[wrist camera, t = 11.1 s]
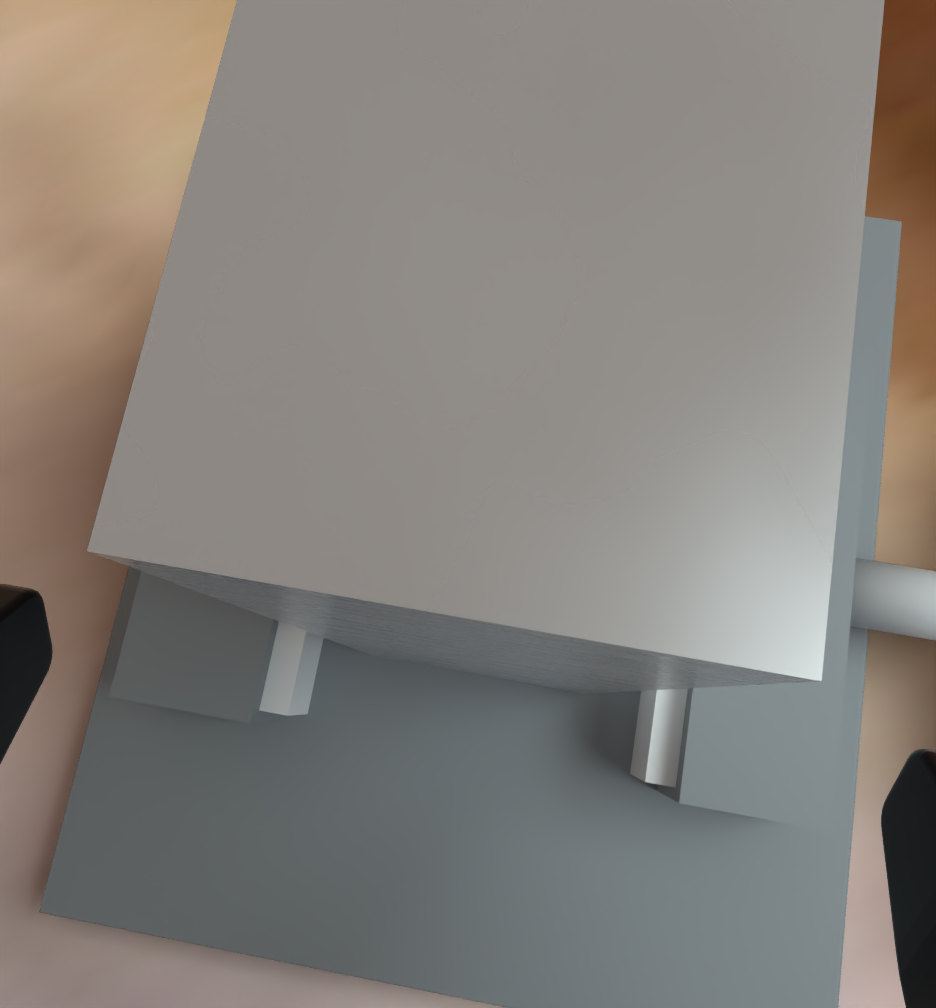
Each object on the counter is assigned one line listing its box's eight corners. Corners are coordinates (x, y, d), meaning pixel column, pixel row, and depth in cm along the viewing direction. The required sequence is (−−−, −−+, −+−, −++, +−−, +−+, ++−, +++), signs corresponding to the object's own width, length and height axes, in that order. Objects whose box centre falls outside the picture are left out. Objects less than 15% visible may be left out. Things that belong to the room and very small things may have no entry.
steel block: (584, 694, 16) (821, 680, 5) (373, 655, 17) (85, 551, 5) (622, 437, 17) (894, -106, 6) (422, 405, 18) (284, -181, 6)
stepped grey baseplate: (1029, 1098, 15) (1144, 1184, 13) (60, 902, 17) (-25, 941, 14) (1061, 266, 19) (1158, 193, 16) (253, 150, 20) (215, 62, 17)
